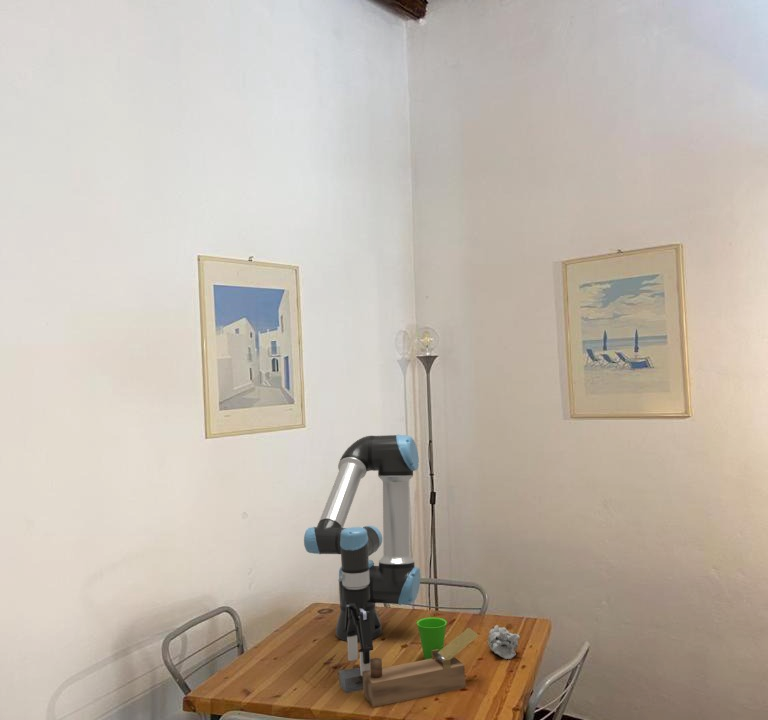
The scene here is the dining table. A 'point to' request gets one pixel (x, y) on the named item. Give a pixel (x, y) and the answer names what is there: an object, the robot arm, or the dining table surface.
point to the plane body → (411, 679)
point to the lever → (456, 645)
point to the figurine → (503, 642)
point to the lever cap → (351, 679)
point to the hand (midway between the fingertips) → (359, 667)
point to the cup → (431, 634)
